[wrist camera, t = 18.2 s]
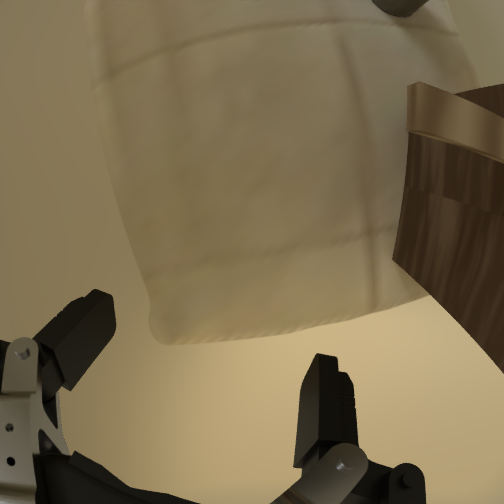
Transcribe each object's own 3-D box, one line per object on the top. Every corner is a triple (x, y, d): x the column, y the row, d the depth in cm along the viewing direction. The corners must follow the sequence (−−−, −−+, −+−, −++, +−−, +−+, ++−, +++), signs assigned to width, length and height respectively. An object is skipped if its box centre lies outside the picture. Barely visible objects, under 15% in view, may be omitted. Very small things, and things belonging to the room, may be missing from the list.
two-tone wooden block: (392, 259, 43) (518, 392, 13) (409, 105, 35) (580, 75, 5) (452, 263, 43) (572, 364, 12) (470, 127, 35) (621, 136, 4)
